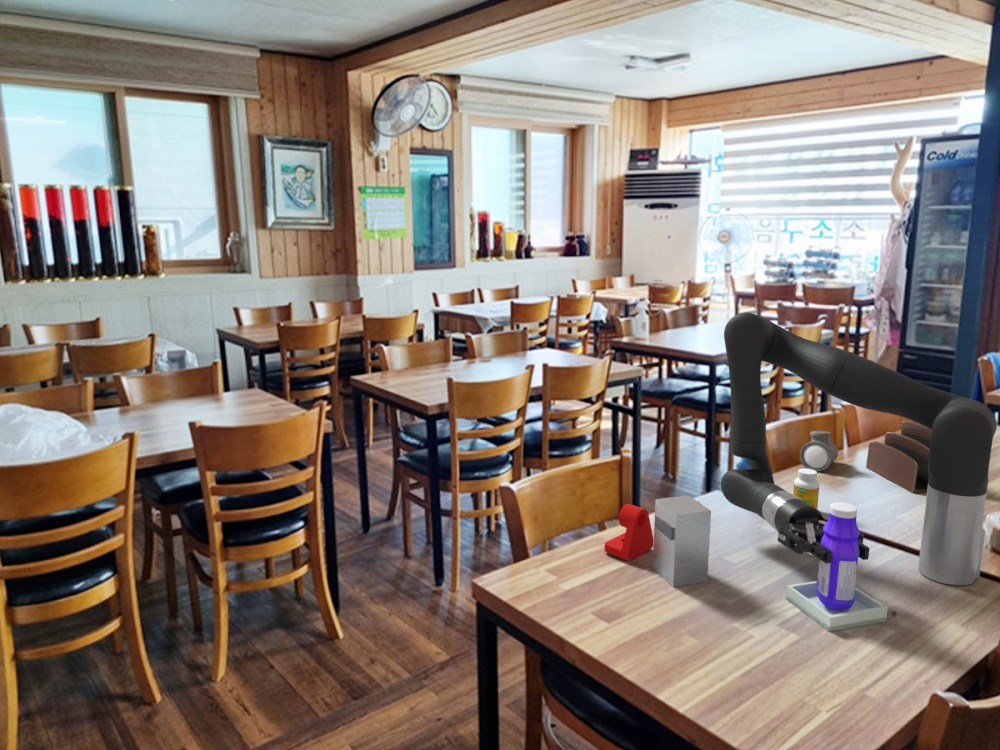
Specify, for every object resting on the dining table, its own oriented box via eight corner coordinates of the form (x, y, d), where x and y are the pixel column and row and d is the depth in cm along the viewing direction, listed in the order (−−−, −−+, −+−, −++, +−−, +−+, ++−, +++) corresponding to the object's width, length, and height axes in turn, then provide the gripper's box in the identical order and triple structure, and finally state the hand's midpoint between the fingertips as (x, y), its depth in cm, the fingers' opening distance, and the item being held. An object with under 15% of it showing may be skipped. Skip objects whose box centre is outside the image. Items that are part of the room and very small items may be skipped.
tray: (838, 590, 133) (840, 577, 133) (886, 621, 122) (887, 607, 122) (785, 598, 130) (786, 585, 130) (829, 631, 120) (830, 617, 119)
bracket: (628, 540, 155) (629, 495, 153) (653, 549, 150) (654, 503, 148) (602, 553, 149) (603, 507, 147) (627, 563, 144) (629, 515, 142)
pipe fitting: (829, 473, 193) (830, 435, 193) (798, 469, 198) (799, 432, 198) (843, 467, 202) (845, 430, 202) (813, 464, 207) (814, 427, 207)
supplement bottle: (791, 514, 168) (794, 473, 166) (792, 505, 173) (795, 466, 171) (817, 517, 166) (820, 476, 164) (816, 508, 171) (820, 468, 169)
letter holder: (899, 466, 200) (905, 416, 197) (951, 492, 181) (957, 437, 178) (865, 468, 199) (870, 417, 196) (913, 494, 180) (919, 439, 177)
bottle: (857, 614, 122) (868, 515, 118) (821, 610, 123) (830, 513, 120) (846, 592, 129) (856, 499, 125) (812, 589, 130) (820, 496, 127)
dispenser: (687, 562, 144) (691, 495, 141) (709, 581, 137) (713, 510, 134) (651, 568, 142) (653, 499, 139) (671, 587, 134) (674, 515, 132)
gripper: (757, 500, 136) (811, 538, 120) (828, 495, 138) (889, 531, 122) (754, 538, 137) (807, 581, 121) (824, 532, 140) (884, 573, 124)
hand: (848, 556), depth 122 cm, fingers closed on bottle, 6 cm apart
